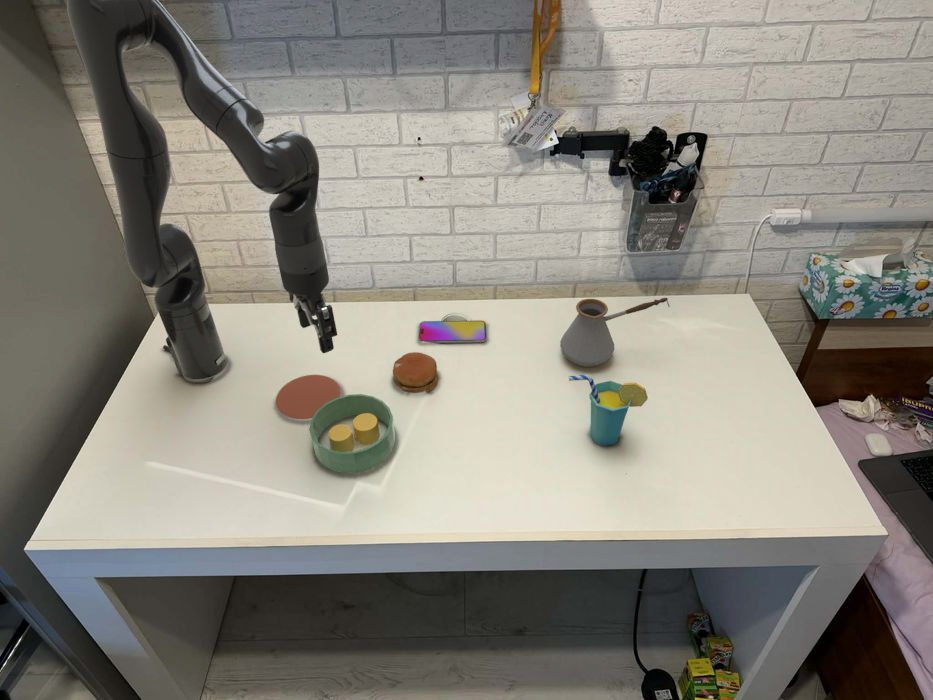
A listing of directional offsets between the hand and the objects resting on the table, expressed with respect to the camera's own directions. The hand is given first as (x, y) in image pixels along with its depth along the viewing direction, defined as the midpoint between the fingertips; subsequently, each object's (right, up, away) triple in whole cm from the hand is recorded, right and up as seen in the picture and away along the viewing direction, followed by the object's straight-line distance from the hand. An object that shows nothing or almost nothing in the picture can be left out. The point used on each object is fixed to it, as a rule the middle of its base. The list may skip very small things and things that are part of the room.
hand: (317, 338), depth 116 cm
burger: (+16, -9, +21) cm, 28 cm away
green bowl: (+5, -20, +8) cm, 22 cm away
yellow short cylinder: (+8, -19, +8) cm, 22 cm away
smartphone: (+23, +2, +33) cm, 40 cm away
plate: (-6, -12, +17) cm, 22 cm away
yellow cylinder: (+3, -20, +6) cm, 22 cm away
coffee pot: (+57, -3, +26) cm, 63 cm away
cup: (+52, -18, +8) cm, 55 cm away
